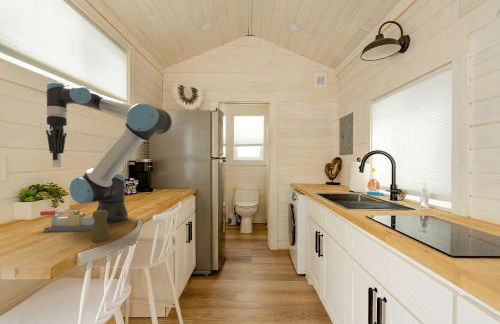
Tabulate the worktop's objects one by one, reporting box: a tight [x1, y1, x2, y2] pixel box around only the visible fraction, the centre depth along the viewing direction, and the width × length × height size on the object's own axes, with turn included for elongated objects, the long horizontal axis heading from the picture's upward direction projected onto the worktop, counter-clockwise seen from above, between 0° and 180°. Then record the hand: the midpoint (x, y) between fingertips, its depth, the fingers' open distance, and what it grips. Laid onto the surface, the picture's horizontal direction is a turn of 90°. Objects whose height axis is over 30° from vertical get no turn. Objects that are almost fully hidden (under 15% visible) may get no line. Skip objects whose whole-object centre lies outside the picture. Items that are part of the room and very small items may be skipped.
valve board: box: [43, 212, 94, 233], centre depth 116 cm, size 20×10×6 cm, turn 99°
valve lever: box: [39, 209, 81, 217], centre depth 114 cm, size 3×14×2 cm, turn 105°
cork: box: [90, 209, 110, 243], centre depth 99 cm, size 6×6×11 cm
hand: (56, 167), depth 123 cm, fingers closed
